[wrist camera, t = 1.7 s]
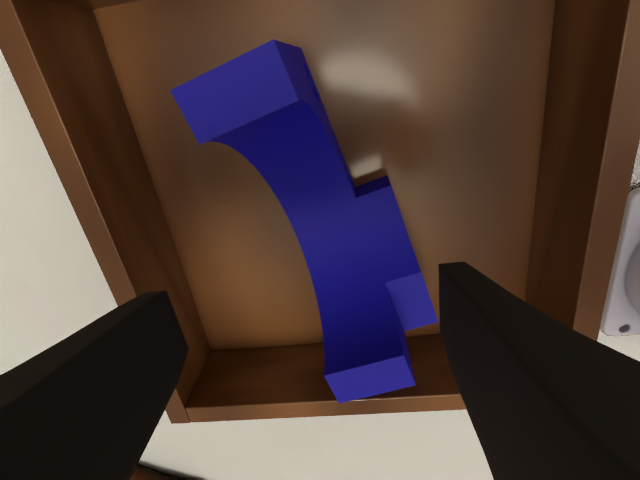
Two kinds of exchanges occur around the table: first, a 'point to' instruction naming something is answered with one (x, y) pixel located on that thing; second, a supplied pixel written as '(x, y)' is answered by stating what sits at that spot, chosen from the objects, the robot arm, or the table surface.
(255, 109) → the cable clip
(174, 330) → the robot arm
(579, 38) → the crate
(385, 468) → the table surface
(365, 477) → the table surface
